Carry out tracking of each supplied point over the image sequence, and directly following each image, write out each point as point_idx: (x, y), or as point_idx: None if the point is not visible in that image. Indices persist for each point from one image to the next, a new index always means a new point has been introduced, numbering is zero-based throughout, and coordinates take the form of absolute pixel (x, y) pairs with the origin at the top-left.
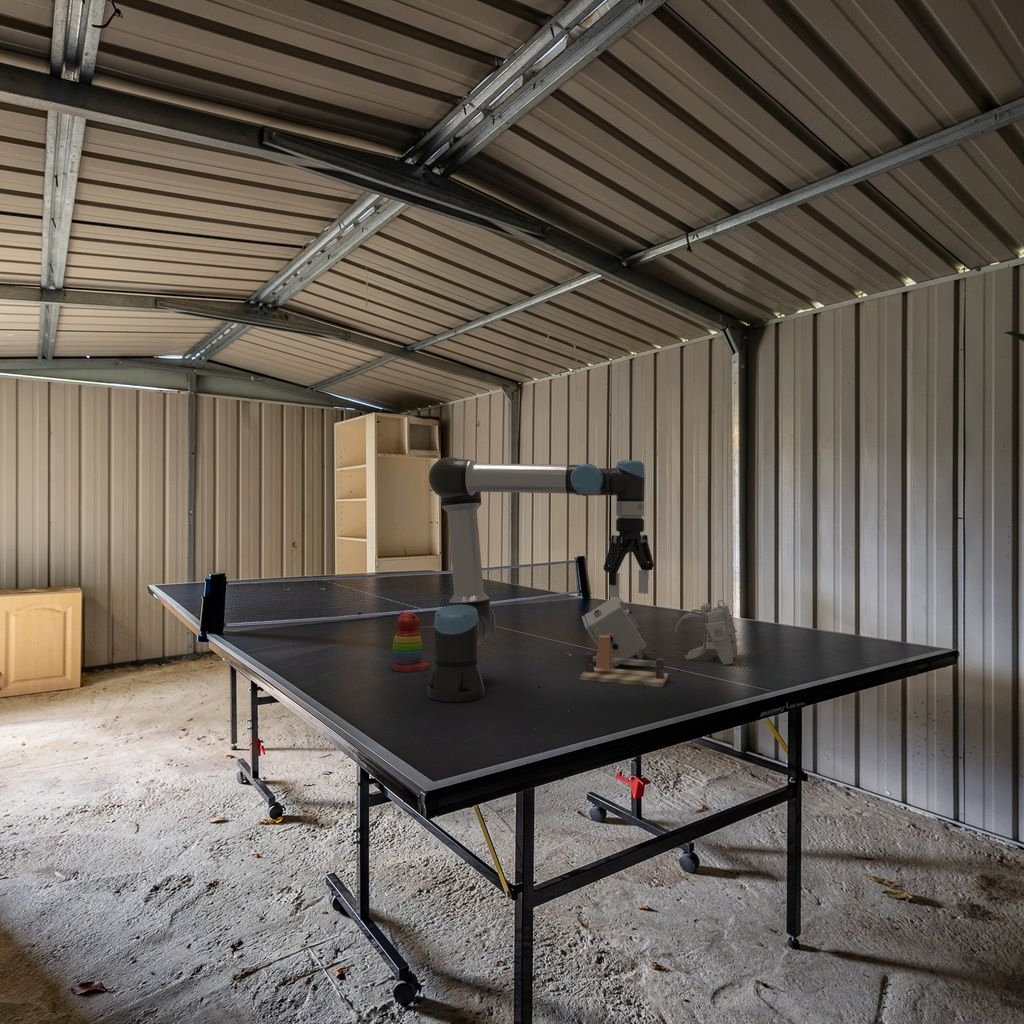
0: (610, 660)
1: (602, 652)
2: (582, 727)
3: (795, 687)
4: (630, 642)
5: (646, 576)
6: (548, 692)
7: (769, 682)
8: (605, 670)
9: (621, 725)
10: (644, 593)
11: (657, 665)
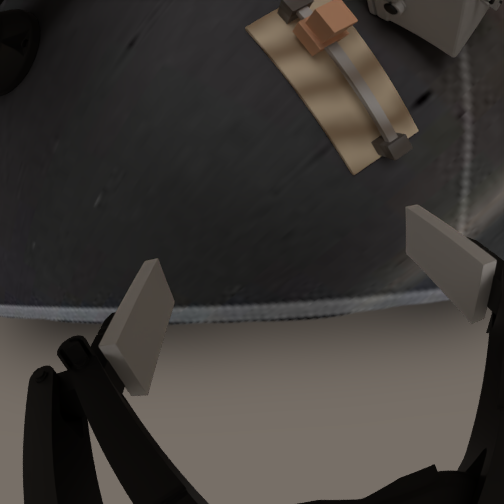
0: (325, 47)
1: (313, 30)
2: (83, 272)
3: None
4: (431, 28)
5: (451, 299)
6: (124, 84)
7: None
8: None
9: None
10: (406, 242)
11: (384, 148)
